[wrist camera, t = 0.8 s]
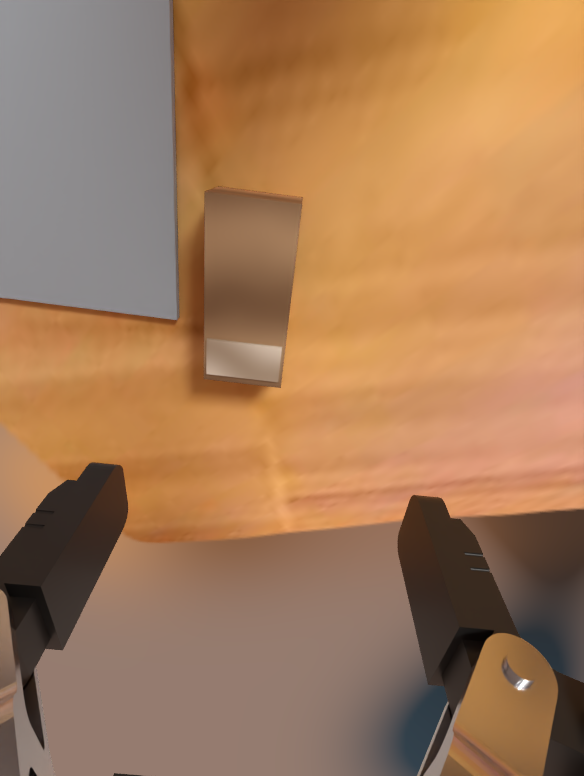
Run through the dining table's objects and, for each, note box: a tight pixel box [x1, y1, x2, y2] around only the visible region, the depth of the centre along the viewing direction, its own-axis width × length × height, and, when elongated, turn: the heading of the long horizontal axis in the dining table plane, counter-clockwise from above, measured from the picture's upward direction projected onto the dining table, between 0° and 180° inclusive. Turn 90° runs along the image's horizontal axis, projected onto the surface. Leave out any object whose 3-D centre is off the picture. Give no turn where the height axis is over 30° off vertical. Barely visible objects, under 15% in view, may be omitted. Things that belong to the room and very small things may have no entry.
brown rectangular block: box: [204, 186, 303, 388], centre depth 25 cm, size 11×5×4 cm, turn 173°
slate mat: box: [0, 0, 179, 320], centre depth 22 cm, size 22×16×1 cm
